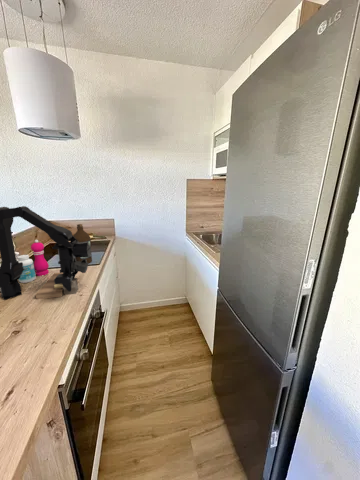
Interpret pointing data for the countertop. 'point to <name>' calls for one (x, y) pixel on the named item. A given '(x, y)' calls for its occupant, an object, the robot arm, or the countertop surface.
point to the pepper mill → (39, 259)
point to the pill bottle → (26, 269)
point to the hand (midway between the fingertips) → (71, 289)
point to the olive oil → (82, 237)
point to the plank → (50, 289)
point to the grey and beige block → (73, 287)
